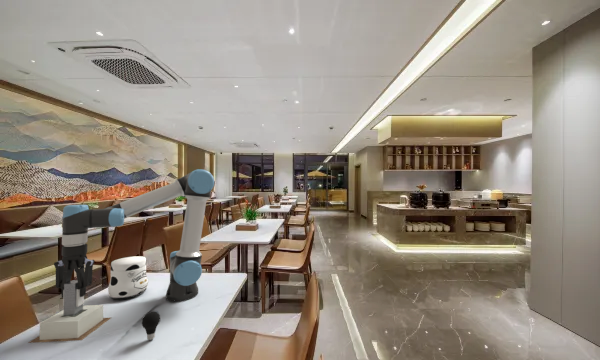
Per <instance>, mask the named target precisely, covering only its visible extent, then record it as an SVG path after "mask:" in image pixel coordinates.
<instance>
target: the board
mask: <svg viewBox="0 0 600 360" xmlns="http://www.w3.org/2000/svg"><path fill="white" fill-rule="evenodd" d="M112 318H113V317H103V320H102V321H100V322H99V323H98V324H96V325H95V326H94V327H92V328H91V329H89V330H88V331H87V332H85V333H84V334H82V335H81V336H80V337H78V338H68V339H48V340H39V338H40V335H38V336H37V337H35V338H33V339H31V340H30V341H28V342H27V344H33V343H48V342H49V343H51V342H52V343H53V342H56V343H57V342H70V341H71V342H72V341H76V342H77V341H83V340H84V339H86V338H87V337H88V336H89V335H90V334H92V333H93V332H95V331H96V330H97V329H99V327H102V326H103V325H104V324H105V323H107V322H109V320H111V319H112Z"/></svg>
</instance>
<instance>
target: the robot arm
mask: <svg viewBox="0 0 600 360" xmlns="http://www.w3.org/2000/svg"><path fill="white" fill-rule="evenodd" d="M214 187H215V177H214V175H213V174H212V173H211V172H210V171H208V170H206V169H203V168H202V169H201V168H200V169H199V168H197V169H194V170H193V171H190V172H189V173H187V174H185V175H184V176H182V177H180V178H176V179H175V181H174V182H172V183H169V184H166V185H164V186H161V187H158V188H156V189H154V190H151V191H148V192H144V193H143V194H140V195H138V196H134V197H132V198H130V199H127V200H124V201H121V202H119V203H117V204H113V205H112V206H108V207H104V208H98V209H92V208H90V209H89V205H87V204H69V205H65V206H64V207H63V210H62V211H63V212H62V217H61V218H62V221H61V222H62V225H61V226H62V227H61V228H62V234H61V245H62V246H61V256H62V258H61V260H57V261H55V262H54V263H53V265H54V268H55V289H61V298H62V299H63V300H62V301H63V302H62V308H64V284H65V283H68V282H70V281H72V277H73V271H74V272H75V275H76V276H75V277H76V280H77V281H78V286H79V288H77V291H76V307H78V306H80V305H82V304H83V305H84V304H85V300H84V299H85V296H86V294H87V287H89V286H91V285H92V283H93V269H94V268H93V266H94V264H95V259H90V258H89V259H88V256H87V253H88V244H87V243H88V239H89V238H88V237H89V235H88V234H89V233H88V232H89V229H95V228H115V227H121V226H123V225H124V224H125V219H127V218H129V217H131V216H134V215H137V214H139V213H141V212H144V211H146V210H149V209H151V208H154V207H156V206H159V205H161V204H163V203H166V202H169V201H171V200H174V199H176V198H178V197H185V199H187V201H186V209H185V212H184V219H183V221H184V222H183V228H182V233H181V239H180V247H179V250H175V251H172V252H170V255H169V264H170V265H169V284H168V287H167V291H166V292H165V299H166V301H168V302H173V303H174V302H178V303H179V302H184V301H189V300H191V299H193V298H195V297H196V296H198V294H199V286H198V284H197V282H198V281H199V280H200V278H201V276H202V273H203V268H202V258H203V257H202V256H203V253H201V251H200V247H201V241H202V233H203V227H204V219H205V213H206V212H205V211H206V205H207V201H209V200H210V199H211V193H212V190H213V188H214Z"/></svg>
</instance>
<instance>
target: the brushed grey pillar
mask: <svg viewBox="0 0 600 360" xmlns="http://www.w3.org/2000/svg"><path fill="white" fill-rule="evenodd" d="M77 288H79V286H78V281H77V279H76V280H75V279H74V280H72V279H71V281H70V282H68V283H65V284H64V307H63V310H64V314H63V316H75V315H77V314H78V313H80V312H82V311H83V306H84V304H82V305H80V306H78V307H76V291H77Z"/></svg>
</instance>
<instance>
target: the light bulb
mask: <svg viewBox="0 0 600 360" xmlns="http://www.w3.org/2000/svg"><path fill="white" fill-rule="evenodd" d="M160 322H161V315H160V314H159V312H158V311H155V310H152V311H149V312H147V313H146V314H144V316H143V317H142V320H141V326H142V327H143V329H144V330H145V334H146V339H147V340H148V341H152V340H153V339H154V338H155V337H156V330H157V328H158V325H159V324H160Z"/></svg>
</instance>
